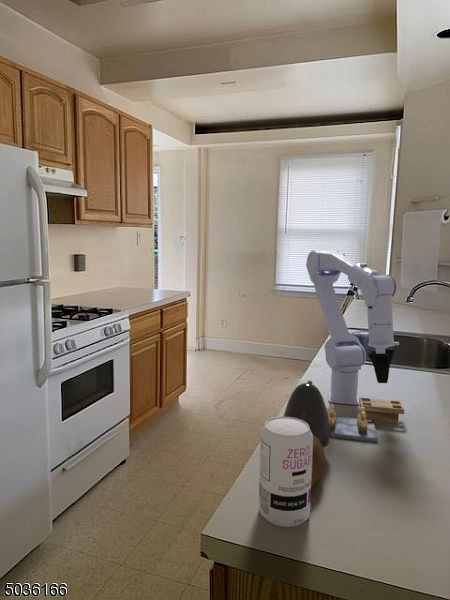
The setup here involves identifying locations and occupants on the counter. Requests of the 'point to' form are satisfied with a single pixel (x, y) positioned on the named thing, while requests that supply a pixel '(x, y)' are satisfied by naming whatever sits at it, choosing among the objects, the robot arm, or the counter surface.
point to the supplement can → (285, 471)
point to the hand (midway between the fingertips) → (383, 380)
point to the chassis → (352, 426)
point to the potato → (317, 460)
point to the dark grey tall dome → (310, 411)
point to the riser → (382, 416)
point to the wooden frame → (381, 405)
